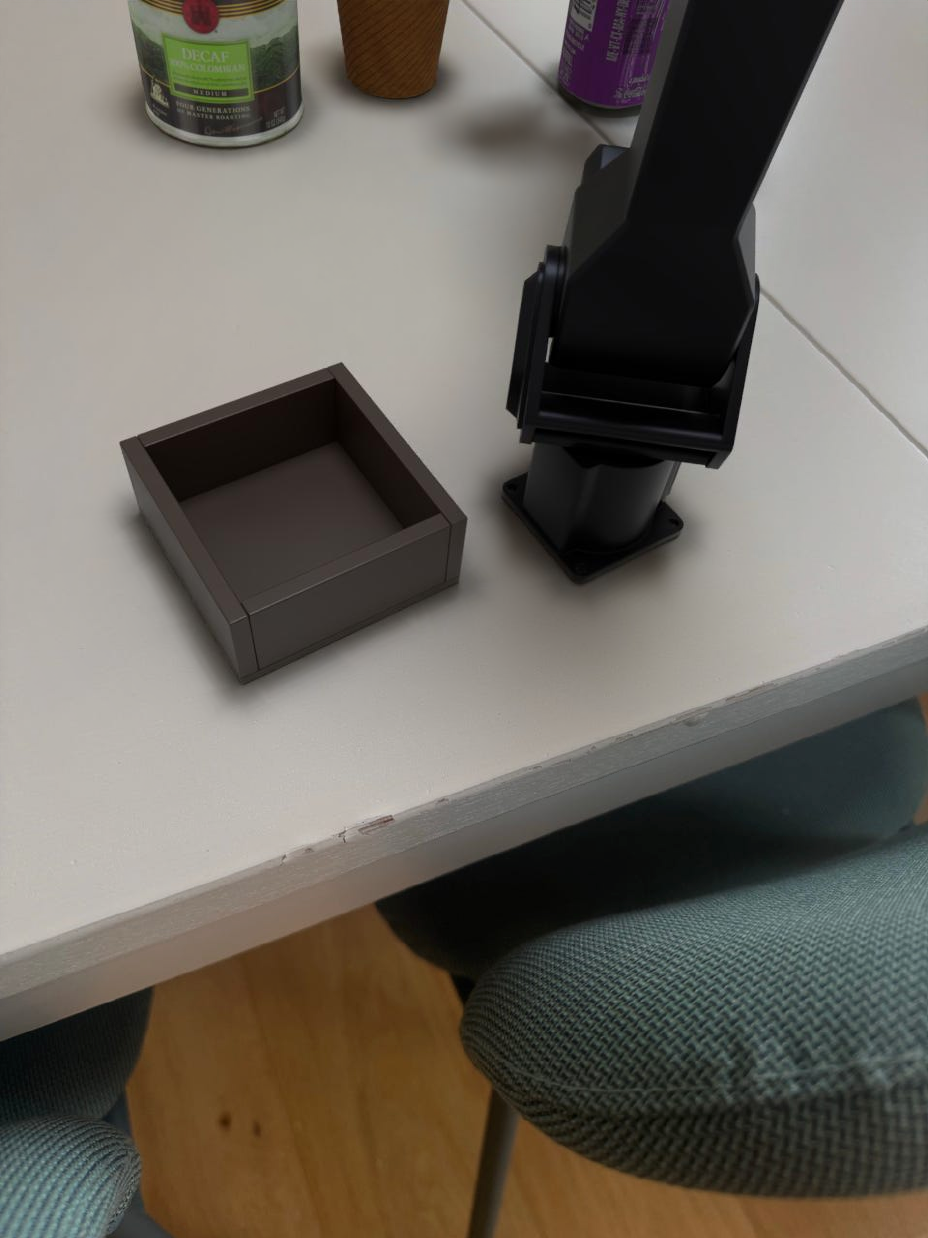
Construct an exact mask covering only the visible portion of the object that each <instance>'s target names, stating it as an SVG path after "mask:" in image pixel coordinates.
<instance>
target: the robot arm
mask: <svg viewBox="0 0 928 1238" xmlns="http://www.w3.org/2000/svg"><path fill="white" fill-rule="evenodd" d="M844 3H845V0H671V1H670V4H669V8H668V12H667V15H666V19H665V23H664V26H663V30H662V33H661V37H660V41H659V44H658V48H657V52H656V55H655V59H654V63H653V66H652V70H651V74H650V77H649V81H648V85H647V88H646V92H645V96H644V99H643V103H642V104H641V106H640V110H639V114H638V118H637V122H636V125H635V129H634V132H633V136H632V140H631V143H630V146H629V147H627V146H621V145H612V144H606V143H599V144H598V145H597V146H596V147H595V148H594V149H593V150H592V152H591V153H590V154H589V156H587V158H586V159H585V161H584V164H583V168H582V174H581V178H580V183H579V186H578V187H577V188H576V189H575V190H574V194H573V198H572V202H571V205H570V211H569V215H568V219H567V222H566V227H565V231H564V235H563V239H562V244H561V245H553V244H546V246H545V251H544V255H543V260H542V261H538V263H537V267H536V268H537V269H536V270H535V272H533V273H532V274H530V276H528V277H526V279H525V280H523V285H522V291H521V299H520V306H519V312H518V320H517V327H516V334H515V342H514V348H513V349H514V350H513V356H512V362H511V370H510V376H509V382H508V387H507V388H508V389H507V394H506V400H505V401H506V402H505V410H506V411H507V412H508V413H510V414H511V415H512V417H514V418H515V421H516V430H519V440H518V444H524V445H532V444H534V445H533V449H532V454H531V458H530V463H529V469H528V471H527V472H524V473H522V474H519V475H518V476H515V477H513V478H510V479H509V480H506V481H505V482H503V484H502V487H501V496H502V498H503V499H504V501H505V502H506V503H507V504H508V505H509V507H511V509H512V510H513V511H514V513H515V514H516V515H517V516H518V517H519V519H521V521H522V522H523V523H524V525H526V527H527V528H528V529H529V530H530V532H532V534H533V535H534V536H535V537H536V538H537V540H538V542H540V543H541V544H542V546H543V547H544V548H545V550H546V551H548V553H549V554H550V555H551V556H552V558H553V559H554V560H555V561H556V562H557V563H558V565H559V566H560V567H561V568H562V569H563V571H564V572H565V573H566V574H567V576H568V577H569V578H570V579H571V580H572V581H574V582H575V583H579V584H580V583H581V584H583V583H584V584H585V583H586V582H589V581H591V580H594V578H596V577H599V576H601V575H603V574H604V573H607V572H608V571H610V570H613V569H614V568H617V567H618V566H621V565H622V564H625V563H626V562H629V561H631V560H633V559H634V558H636V557H638V556H640V555H642V554H645V553H646V552H648V551H650V550H652V549H654V548H656V547H658V546H660V545H662V544H664V543H667V542H668V541H669V540H671V539H674V538H675V537H677V536H679V535H680V534H681V533H682V531H683V529H684V526H685V525H684V521H683V518H681V517H680V516H679V514H677V513H676V511H675V510H674V509H673V508H671V506H670V505H669V504H668V503H667V502H666V501H665V500H666V498H667V497H668V496H669V495H670V493H671V490H672V488H673V487H674V486H673V485H674V483H675V480H676V478H677V475H678V472H679V470H680V468H681V465H682V464H683V463H685V464H692V465H699V466H700V465H701V466H704V467H705V469H712V470H719V469H720V468H721V467H722V466H723V464H724V463H725V461H726V460H727V459H728V458H729V456H730V455H731V453H732V452H733V450H734V446H735V441H736V436H737V431H738V425H739V418H740V413H741V408H742V403H743V397H744V391H745V385H746V380H747V374H748V370H749V369H748V368H749V362H750V358H751V357H750V356H751V352H752V346H753V340H754V335H755V329H756V324H757V318H758V311H759V305H760V298H761V296H760V294H761V283H760V276H759V275H758V274H757V272H756V236H757V235H756V231H757V230H756V229H757V227H756V225H757V221H756V220H757V213H756V212H757V211H756V207H755V204H754V202H755V199H756V197H757V195H758V193H759V190H760V188H761V187H762V184H763V182H764V179H765V178H766V175H767V173H768V170H769V168H770V166H771V163H772V161H773V159H774V157H775V155H776V153H777V152H778V151H777V150H778V148H779V146H780V144H781V142H782V139H783V137H784V135H785V133H786V131H787V129H788V126H789V124H790V122H791V119H792V117H793V115H794V113H795V111H796V108H797V106H798V104H799V102H800V100H801V97H802V96H803V93H804V92H805V89H806V86H807V85H808V82H809V81H810V78H811V76H812V73H813V71H814V69H815V66H816V64H817V62H818V60H819V58H820V55H821V53H822V51H823V49H824V47H825V45H826V43H827V41H828V38H829V36H830V34H831V31H832V29H833V27H834V25H835V23H836V20H837V18H838V15H839V14H840V11H841V9H842V8H843V5H844ZM550 339H551V341H549V340H550ZM549 342H550V345H549ZM548 348H549V351H548ZM547 355H548V357H547ZM672 525H673V526H672ZM578 570H580V571H583V572H579V571H578Z"/></svg>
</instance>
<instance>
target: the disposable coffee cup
mask: <svg viewBox="0 0 928 1238" xmlns="http://www.w3.org/2000/svg"><path fill="white" fill-rule="evenodd" d="M450 1H451V0H336V5H337V6H336V7H337V14H338V21H339V27H340V28H339V29H340V36H341V44H342V50H343V59H344V65H345V74H346V78H347V79H348V81H349V83H351V84H352V85H353V86H354V87H355V88H356V89H358V90H360V91H362V92H364V93H367V94H369V95H372V96H375V97H381V98H389V99H403V98H411V97H412V98H413V97H415V96H420V95H422V94H425V93H426V92H427V91H429V90H431V88H433V86H434V85H435V83H436V80H437V73H438V69H439V62H440V57H441V52H442V47H443V46H442V45H443V40H444V34H445V28H446V24H447V18H448V13H449V6H450Z"/></svg>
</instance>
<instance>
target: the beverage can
mask: <svg viewBox="0 0 928 1238" xmlns="http://www.w3.org/2000/svg"><path fill="white" fill-rule="evenodd" d="M670 1H671V0H568V8H567V13H566V19H565V26H564V32H563V37H562V38H563V39H562V44H561V51H560V58H559V63H558V69H557V77H558V78H557V79H558V80H559V83H560V84H561V86H562V88H564V89H565V90H566V91H567V92H569V94H571V95H572V96H575V97H576V98H577V99H578V100H580V101H581V102H583V103H585V104H587V105H589V106H591V107H595V108H599V109H604V110H622V109H626V108H629V107H634V106H635V107H636V106H638V105H642V103H643V99H644V96H645V92H646V88H647V85H648V81H649V77H650V74H651V70H652V66H653V63H654V59H655V55H656V52H657V48H658V44H659V41H660V37H661V33H662V30H663V26H664V23H665V19H666V15H667V12H668V8H669V4H670Z"/></svg>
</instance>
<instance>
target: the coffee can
mask: <svg viewBox="0 0 928 1238" xmlns="http://www.w3.org/2000/svg"><path fill="white" fill-rule="evenodd" d="M126 1H127V7H128V12H129V13H128V14H129V18H130V23H131V24H130V25H131V29H132V34H133V39H134V46H135V50H136V55H137V62H138V68H139V72H140V76H141V83H142V88H143V92H144V98H145V102H144V103H145V104H144V105H145V110H146V114H147V115H148V118H149V119H150V120H151V121H152V122H153V123H154V125H155V126H157V127H158V128H159V129H160V130H161V131H162V132H164V133H165V134H167V135H169V136H172V137H173V138H175V139H178V140H180V141H184V142H187V143H190V144H194V145H197V146H198V145H199V146H203V147H209V148H210V147H211V148H243V147H250V146H255V145H259V144H264V143H267V142H270V141H272V140H275V139H278V138H279V137H282V136H284V135H285V134H286V133H288V132H289V131H291V130H292V129H294V128H295V127H296V126H297V124H298V123H299V122H300V120H301V119H302V117H303V113H304V110H305V109H304V108H305V107H304V106H305V105H304V100H303V91H302V71H301V70H302V69H301V53H300V33H299V31H300V30H299V11H298V0H126Z"/></svg>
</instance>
